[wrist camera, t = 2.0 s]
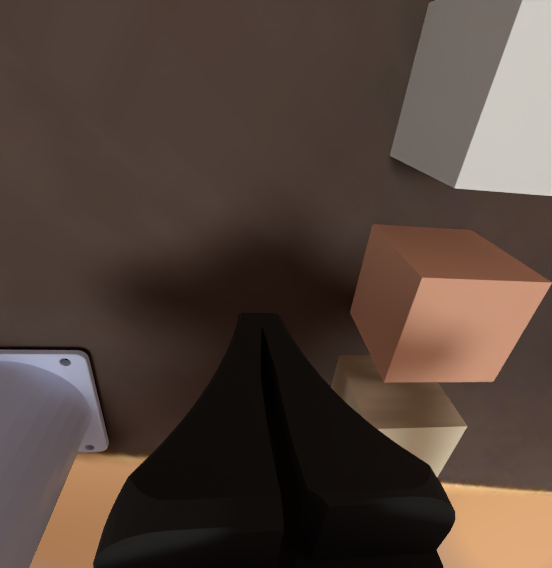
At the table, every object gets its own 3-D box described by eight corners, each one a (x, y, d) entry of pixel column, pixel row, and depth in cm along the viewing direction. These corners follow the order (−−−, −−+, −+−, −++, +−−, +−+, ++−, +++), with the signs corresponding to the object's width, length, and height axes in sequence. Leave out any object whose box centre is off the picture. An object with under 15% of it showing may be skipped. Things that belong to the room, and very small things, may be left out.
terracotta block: (349, 311, 18) (383, 382, 14) (372, 223, 16) (422, 277, 12) (435, 313, 19) (493, 381, 15) (470, 229, 16) (552, 282, 12)
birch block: (324, 411, 22) (345, 489, 18) (338, 353, 20) (367, 429, 16) (396, 409, 23) (432, 485, 19) (419, 354, 21) (467, 426, 16)
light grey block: (389, 155, 14) (454, 188, 10) (427, 3, 12) (536, -40, 8) (496, 165, 15) (600, 199, 11) (555, 23, 12) (721, -6, 8)
